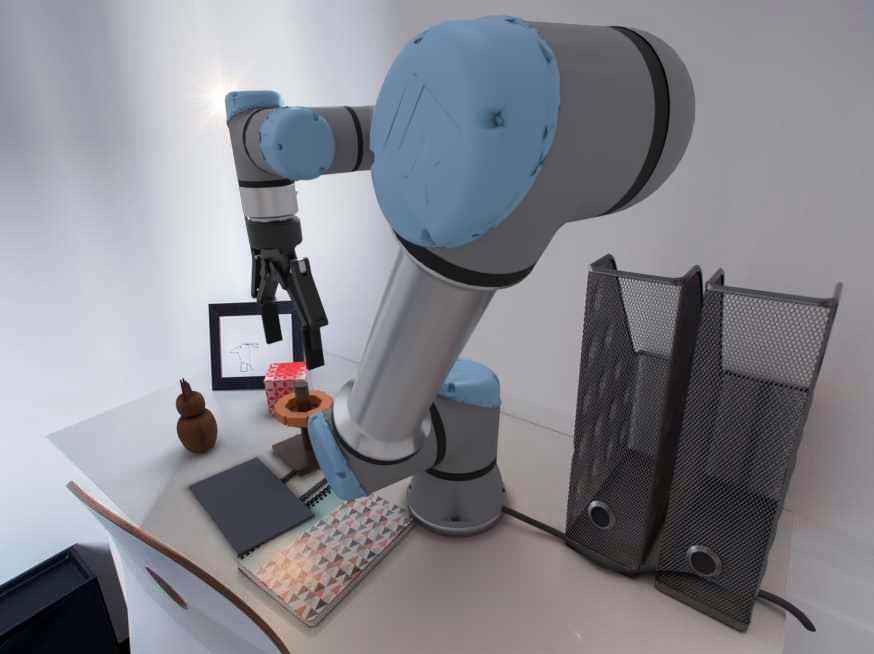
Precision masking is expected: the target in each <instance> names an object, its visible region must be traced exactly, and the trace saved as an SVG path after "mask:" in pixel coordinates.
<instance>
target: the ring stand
mask: <svg viewBox="0 0 874 654" xmlns="http://www.w3.org/2000/svg"><path fill="white" fill-rule="evenodd" d="M293 386H294V392H295V398H296V405H297V406H295V407H293V408H290V411H291V412H308V411H310V410H313V409H316V408H318V407H319V405H317V404H311V400H310V393H309V387H308V382H306V381H298V382H295V383H294V385H293ZM295 428H297V429H300V433H297V434H296V435H293V436H291V437H288V438H286V439H284V440H282V441H279V442H277V443H274V444H271V449H272V453H273V454H274V455H276V457H278V458H279V460H281V461H282V462H283V463H284V464H285V465H287V467H288V468H290V470H291V471H293V472H294V473H295V474H296V475H297V477H299V478H302V477H304V476H307V475H309V474H311V473H313V472H315V471H317V470H321V467H320V465H319V463H318V460H317V458H316V455H315V453H314V450H313V447H312V444H311V441H310V437H309V433H308V426H307V427H295Z"/></svg>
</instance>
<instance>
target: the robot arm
mask: <svg viewBox="0 0 874 654" xmlns="http://www.w3.org/2000/svg"><path fill="white" fill-rule="evenodd" d="M224 104H225V105H224V107H225V114H226V121H225V122H226V123H225V124H226V126H227V128H228V132H229V139H230V143H231V148H232V153H233V159H234V165H235V170H236V174H237V179H238V190H239V194H240V195H239V196H240V200H241V207H242V211H243V216H245V217H246V218H248V219H247V221H246V222H245V226H246V231H247V237H248V242H249V245H250V255H251V277H250V279H251V281H250V282H251V283H250V297H251V298H252V299H253V300H254V299H256V303H257V305H258V306H259V311H260V317H261V322H262V328H263V334H264V339H265V344H267V345H272V344H275V343H279V342H283V333H282V326H281V320H280V314H279V309H278V303H277V302H278V298H277V297H276V293H277V290H278V286H279V285H280V287H281V289H282V290H284V291H286V293H287V295H288V297H289V299H290V301H291V303H292V305H293V308H294V309H295V311H296V313H297V316H298V318H299V320H300V322H301V324H302V326H301V327H300V328H299V330H300V331H299V332H301V339H302V345H303V352H304V353H303V354H304V359H305V360H304V361H305V362H306V367H307V369H308V370H311V371H313V370H315V369H318V368H320V367H324V366H325V365H326V364H325V356H324V348H323V340H322V334H321V332H322V331H321V328H323V327H326V326H329V319H328V316H327V313H326V311H325V308H324V305H323V302H322V299H321V297H320V294H319V290H318V287H317V284H316V282H315V280H314V277H313V273H312V268H311V263H310V258H308V257H307V256H304V257H299V258H298V256H297V252H296V248H297V246H299V245H301V244H302V242H303V241H304V240H303V239H304V238H303V231H302V223H301V217H299V216H297V213H298V212H299V204H298V203H299V202H298V196H297V195H298V194H299V191H298V189H297V188H296V182H300V181H313V180H315V179H318V178H320V177H321V176H327V175H336V174H337V175H339V174H347V173H354V172H365V171H366V172H367V171H370V175H371V182H372V188H373V191H374V194H375V198H376V201H377V204H378V207H379V210H380V211H381V213H382V215H383V217H384V218H385V220H386V222H387V224H388V227H389V229H390V232H391V234H392V236H393V238H394V240H395V242H396V243H397V248H396V251H395V255H394V258H393V261H392V264H391V266H390V267H391V268H390V270H389V274H388V276H387V280H386V282H385V286H384V289H383V292H382V295H381V298H380V302H379V305H378V308H377V311H376V313H375V317H374V320H373V323H372V326H371V330H370V333H369V335H368V339H367V343H366V345H365V348H364V352H363V354H362V357H361V360H360V364H359V367H358V369H357V373H356V375H355V376H354V377H352V378H351V379H349V380H348V381H347V382H346V383H344V384H343V385H342V386H341V388H340V389H339V390H338V392H337V394H336V395H335V398H334V400H333V403H334V405H333V408H331V409H328V410H325V411H323V410H319V412H317V413H315V414H313V415H311V416H310V417H309V419H308V433H309V437H310V441H311V444H312V447H313V450H314V453H315V455H316V458H317V460H318V463H319V465H320V467H321V468H320V470H321V472H322V474H323V476H324V478H325V480H326V482H327V484H328V485H329V488H330V489H331V490H332V491H333V493H334V494H335V496H336V497H337V498H339V499H340V500H342V501H344V502H352V501H354V500H359V499H360V498H361V499H362V498H367V497H369V495H371V494H373V493H376V492H377V491H380V490H383V489H385V488H387V487H389V486H392V485H394V484H396V483H399V482H401V481H403V480H405V479H408V478H410V477H412V478H411V479H410V481H409V483H408V487H407V490H406V505H407V510H408V513H409V516H410V517H411V518H412V519H413V520H414V521H415V523H416V524H417V525H419V526H420V527H421V528H423V529H425V530H427V531H429V532H432V533H434V534H436V535H441V536H445V537H455V538H463V537H471V536H476V535H479V534H482V533H485V532H487V531H489V530H491V529H493V528H494V527H496V526H497V524H499V523H500V522H501V521H502V520H503V518H504V516H505V514H506V515H508V516H510V517H513V518H514V519H517V520H519V521H521V522H524V523H526V524H527V525H530V526H532V527H535V528H536V529H539V530H541V531H543V532H546V533H548V534H549V535H552V536H554V537H556V538H558V539H560V540H561V541H563V542H565V543H566V544H568V545H569V546H570V547H572V548H574V549H575V550H576V551H577V552H579V553H580V554H581V555H582V556H583V557H585V558H586V559H588V560H589V561H590V562H592V563H593V564H595V565H597V566H599V567H601V568H603V569H606V570H609V571H612V572H615V573H616V572H617V573H621V574H643V573H651V572H657V571H656V569H657V567H656V566H657V563H658V562H657V563H647V564H640V565H641V567H640V569H637V570H628V569H626V568H625V567H623V566H621V565H622V564H618V563H614V562H612V561H611V562H610V561H607V560H605V559H603V558H601V557H599V556H597V555H596V554H594V553H593V552H592V551H590V550H588V549H587V548H586V547H584V546H583V545H582V544H581V542H578V541H577V540H575V539H574V538H573V537H571V538H572V539H574V540H575V541H576V542H577V543H579V544H580V545H578V544H576V543H574V542H573V541H571V540H569V539H567V538H566V535H567V534H566V533H564V531H560V530H559V529H557V528H554V527H553V526H551V525H548V524H546V523H544V522H542V521H539V520H537V519H535V518H532V517H530V516H529V515H526V514H524V513H521V512H519V511H517V510H515V509H513V508H510V507H508V506H507V503H508V502H507V501H508V493H507V489H506V485H505V483H504V481H503V477H502V473H501V471H500V467H499V464H498V445H499V444H498V443H499V442H498V441H499V433H500V432H499V430H500V415H501V405H502V399H501V382H500V379H499V376H498V375H497V374H496V373H495V371H494V370H492V369H491V368H490V367H488V366H486V365H485V364H482V363H480V362H477V361H475V360H472V359H466V358H462V357H460V356H461V354H462V353H463V351H464V349H465V348H466V345H467V344H468V342H469V340H470V338H471V337H472V335H473V333H474V331H475V330H476V328H477V326H478V324H479V322H480V321H481V319H482V318H483V316H484V313H485V312H486V310H487V309H488V307H489V305H490V304H491V302H492V300H493V299H494V297H495V295H496V293H497V291H500V290H505V289H509V288H511V287H514V286H517V285H518V284H520V283H521V282H523V281H524V280H525V279H526V278H528V276H529V275H531V273H532V272H533V270H534V268H535V267H536V265H537V264H538V262H539V260H540V259H541V258H542V256H543V254H544V252H545V251H546V249H547V248H548V246H549V244H550V243H551V241H552V240H553V239H554V237H555V235H556V233H557V232H558V231H559V230H560V229H561V228H562V227H563V226H564V225H566V224H568V223H573V222H579V221H585V220H588V219H589V220H590V219H594V218H599V217H604V216H609V215H613V214H616V213H619V212H620V213H621V212H623V211H626V210H628V209H630V208H631V207H634V206H635V205H637V204H639V203H641V202H643V201H645V200H646V199H647V198H649V197H650V196H651V195H653V194H654V193H655V192H656V191H658V190H659V189H660V188H661V187H662V186H663V185H664V183H665V182H667V181H668V179H669V178H670V177H671V175H672V174H673V173H674V172H675V171H676V169H677V168H678V166H679V164H680V162H681V161H682V159H683V158H684V156H685V154H686V152H687V149H688V146H689V144H690V141H691V139H692V136H693V130H694V126H695V121H696V95H695V87H694V84H693V80H692V77H691V75H690V73H689V70H688V67H687V65H686V64H685V62H684V61H683V59H682V58H681V57H680V56H679V54H678V53H677V51H676V50H675V49H674V48H673V47H672V46H671V45H669V44H668V43H667V42H665V41H664V40H663V39H662V38H660V37H658V36H656V35H655V34H653V33H651V32H649V31H647V30H643V29H641V28H640V29H639V28H636V27H633V26H624V25H605V26H604V25H591V24H574V23H563V22H561V23H560V22H549V21H546V22H545V21H532V20H524V18H521V17H518V16H514V15H513V16H512V15H507V14H498V15H496V14H489V15H483V16H480V17H477V18H475V19H448V20H444V21H441V22H438V23H436V24H433V25H431V26H430V27H429V28H427V29H426V30H423V31H420V32H419V33H418V34H416V35H415V36H414V37H412V38H411V39H410V40H409V41H408V42H407V43H406V44H405V46H404V47H402V49H401V50H400V51H399V53H398V54H397V55H396V57H395V58H394V60H393V61H392V63H391V65H390V66H389V68H388V70H387V72H386V74H385V76H384V78H383V81H382V83H381V86H380V89H379V91H378V94H377V97H376V99H375V103H374V104H364V105H363V104H362V105H328V106H327V105H325V106H301V105H295V106H288V105H286V104H285V98H284V97H283V94H282V93H281V92H280V91H278V90H270V89H269V90H268V89H267V90H266V89H265V90H264V89H263V90H240V91H239V90H238V91H235V90H234V91H229V92H228V93H226V95H225V97H224ZM276 301H277V302H276ZM565 534H566V535H565ZM756 597H757V598H760V599H763V600H766V601H768V602H771V603H772V604H775V605H777V606H778V607H781V608H782V609H784V610H785V611H787V612H788V613H789V614H791V615H792V616H793V617H795V618H796V619H797V621H798V622H800V624H801V625H802V626H803V627H804V628H805V629H806V630H807V631H809V632H811V633H815V632H817V629H816V627H815V625H814V623H813V621H811V619H810V618H809V617H808V616H807V615H806V614H805V613H804V612H803V611H801V610H800V608H798V607H796V606H795V605H794V604H792V603H791V602H789V601H788V600H787V599H784V598H782V597H780V596H779V595H776V594H774V593H771V592H769V591H766V590H764V589H761V588H759V592H758V595H757V596H756Z"/></svg>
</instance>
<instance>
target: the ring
mask: <svg viewBox="0 0 874 654" xmlns="http://www.w3.org/2000/svg"><path fill="white" fill-rule="evenodd" d="M309 393H310V400H311V404H317V405H319V407H318V408H316V409H313V410H310V411H308V412H291V411H290V408H293V407H295V406H297V405H296V398H295V392H294V393H291V394H288V395H285V396H283V397H282V398H280V399H279V400H278V402H277V403H276V405H275V406H274V412H275V415H274V417H275V419H276V420H277V421H278V422H279V423H281V424H282V425H283V426H287V428H289V427H290V428H296V427H307V426H308V419H309V417H310V416H311V415H313V414H315V413H317V412H319V410H323V411H325V410H328V409H331V408H333V405H334V398H333V397H332V396H331V395H329V394H328V393H327V392H325V391H323V390H318V389H313V390H309Z"/></svg>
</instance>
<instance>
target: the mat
mask: <svg viewBox="0 0 874 654" xmlns="http://www.w3.org/2000/svg"><path fill="white" fill-rule="evenodd" d="M188 488H189V490H190V491H191V492H192V494H193V495H194V496H195V497H196V499H197V501H198V502H199V503H200V504H201V506H202V507H203V508H204V510H205V511H206V512H207V513H208V515H209V516H210V518H211V519H212V521H213V523H214V524H215V525H216V526H217V527H218V528H219V530H220V532H221V533H222V535H224V537H225V538H226V540H227V541H228V542H229V543H230V545H231V546H232V547H233V549H234V550H235V552H236V553H237V555H238V556H241V555H244V554H245V553H247V552H249V551H251V550H253V549H255V548H257V547H259V546H262V545H263V544H265V543H267V542H269V541H271V540H272V539H275V538H276V537H279V536H280V535H282V534H283V533H285V532H287V531H289V530H292V529H293V528H295V527H297V526H299V525H301V524H303V523H305V522H307V521H309V520H311V519H313V518H314V517H316V514H315V512H313V511H312V510H311V509H310V508H309V507H308V506H307V505H306V504H305V503H304V502H303V501H302V500H301V498H299V497H298V496H297V495H296V494H295V493H294V492H293V491H292V490H291V489H290V488H289V487H288V486H287V485H286V484H285V483H284V482H283V481H282V480H281V479H280V478H279V477H278V476H276V474H275V473H274V472H273V471H272V470H271V469H269V467H268V466H266V464H265V463H264V462H263V461H261V460H260V458H259V457H253V458H251V459H249V460H247V461H244V462H241V463H239V464H237V465H235V466H232V467H230V468H228V469H226V470H223V471H221V472H218V473H216V474H214V475H210V476H209V477H205V478H204V479H202V480H199V481H197V482H194V483H192V484H189V485H188Z"/></svg>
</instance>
